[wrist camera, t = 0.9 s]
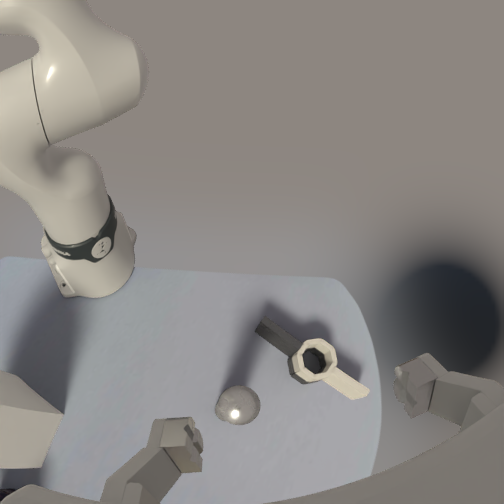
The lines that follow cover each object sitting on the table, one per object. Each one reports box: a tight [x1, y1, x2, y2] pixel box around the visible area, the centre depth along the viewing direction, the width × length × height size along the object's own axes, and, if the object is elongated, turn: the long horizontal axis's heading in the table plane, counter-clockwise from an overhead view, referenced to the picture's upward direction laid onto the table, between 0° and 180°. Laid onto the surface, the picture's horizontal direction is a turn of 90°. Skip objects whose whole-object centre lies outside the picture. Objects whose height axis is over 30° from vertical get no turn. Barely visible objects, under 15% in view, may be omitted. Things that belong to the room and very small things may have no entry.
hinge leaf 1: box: [255, 316, 326, 384], centre depth 45 cm, size 14×6×5 cm, turn 53°
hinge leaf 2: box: [292, 338, 370, 400], centre depth 43 cm, size 14×6×5 cm, turn 53°
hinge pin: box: [215, 386, 260, 425], centre depth 34 cm, size 4×4×15 cm
